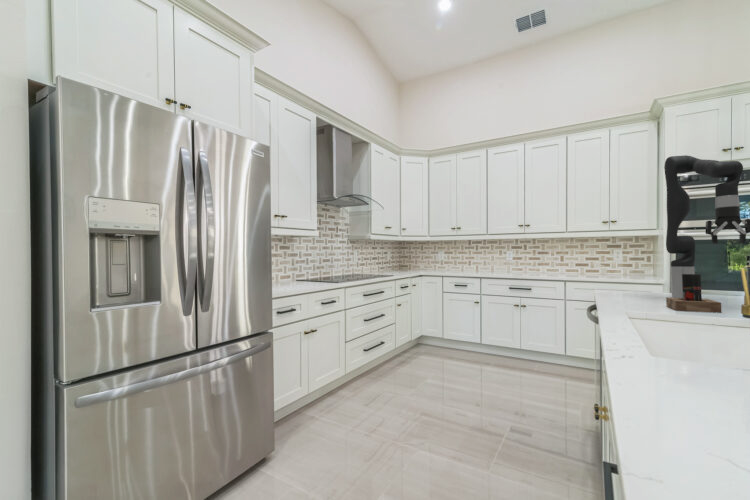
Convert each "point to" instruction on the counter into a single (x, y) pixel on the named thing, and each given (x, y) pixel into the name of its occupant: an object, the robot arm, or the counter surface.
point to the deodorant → (691, 287)
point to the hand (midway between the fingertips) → (728, 243)
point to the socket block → (694, 305)
